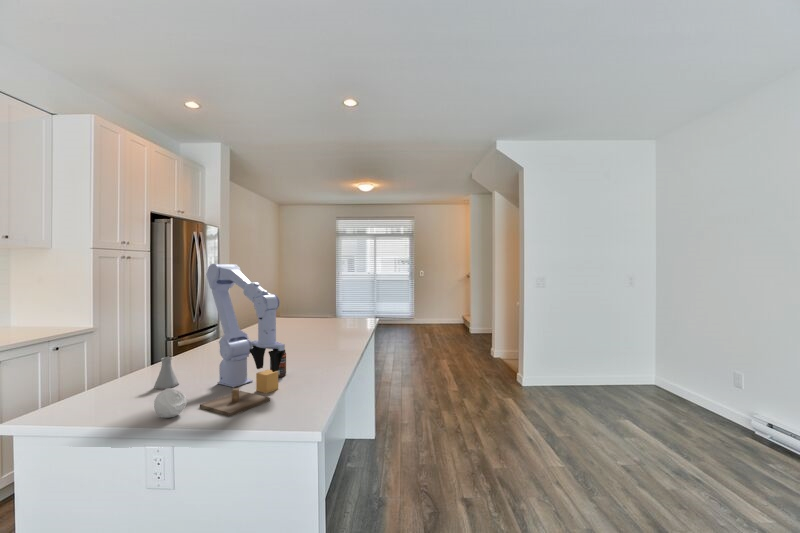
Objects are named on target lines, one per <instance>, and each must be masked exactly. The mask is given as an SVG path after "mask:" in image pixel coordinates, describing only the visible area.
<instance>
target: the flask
mask: <svg viewBox="0 0 800 533" xmlns="http://www.w3.org/2000/svg"><path fill="white" fill-rule="evenodd" d="M160 360H161V366H160V367H161V368H160V370H159V374H158V376H157V379H156V381H155V383H154V385H153V388H154V389H157V390H165V389H167V388H174V387H177V386H179V385H180V383H179V381H178V379H177V377H176V374H175V372H174V370H173V366H172V360H173V357H169V356H166V357H162V358H160Z"/></svg>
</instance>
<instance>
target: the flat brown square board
mask: <svg viewBox="0 0 800 533" xmlns="http://www.w3.org/2000/svg"><path fill="white" fill-rule="evenodd" d="M270 400H271V399H270V397H268V396H264V395H259V394H257V393H251V392H248V391H247V392H246V391H242V390H240V388H237V387H234V388H232V389H231V393H229V394H226V395H223V396H220V397H217V398H214V399H211V400H208V401H205V402H202V403H200V404H199V408H200V409H203V410H206V411H209V412H213V413H217V414H221V415H224V416H228V417H232V416H236V415H237V414H240V413H242V412H243V413H244V412H245V411H248V410H250V409H253V408H255V407H257V406H260V405H263V404H265V403H268V402H270Z"/></svg>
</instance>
